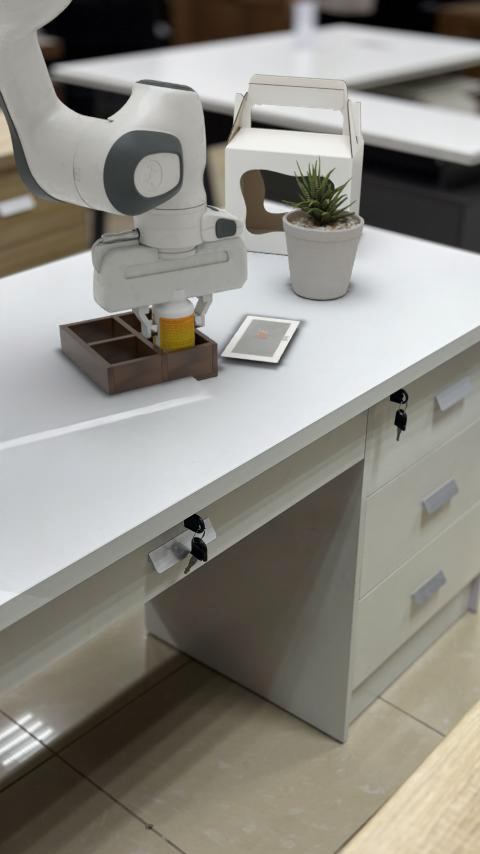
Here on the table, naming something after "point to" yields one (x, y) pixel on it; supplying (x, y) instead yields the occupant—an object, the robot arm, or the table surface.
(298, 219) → the potted plant
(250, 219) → the gable box
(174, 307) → the supplement bottle
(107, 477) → the table surface
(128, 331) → the grid
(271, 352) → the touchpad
